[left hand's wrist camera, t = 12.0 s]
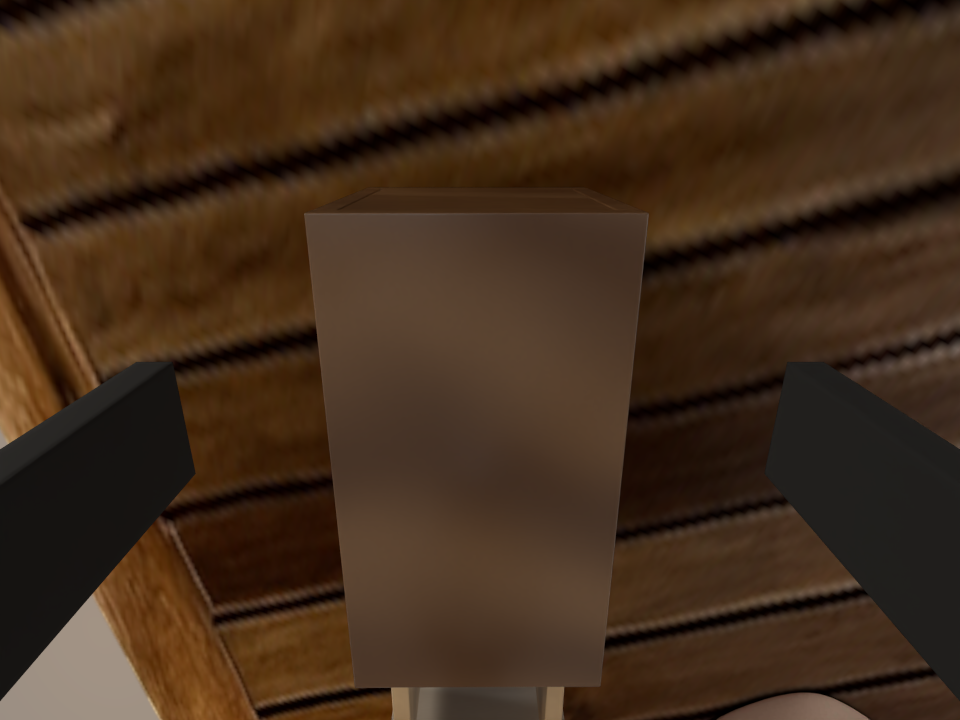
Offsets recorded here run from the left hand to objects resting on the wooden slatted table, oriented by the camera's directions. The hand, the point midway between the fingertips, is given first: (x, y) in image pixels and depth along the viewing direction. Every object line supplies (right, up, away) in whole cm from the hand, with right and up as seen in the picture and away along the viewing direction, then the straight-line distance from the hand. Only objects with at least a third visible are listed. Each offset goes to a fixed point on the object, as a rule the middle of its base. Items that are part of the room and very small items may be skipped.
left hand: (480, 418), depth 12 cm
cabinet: (0, 0, +19) cm, 19 cm away
